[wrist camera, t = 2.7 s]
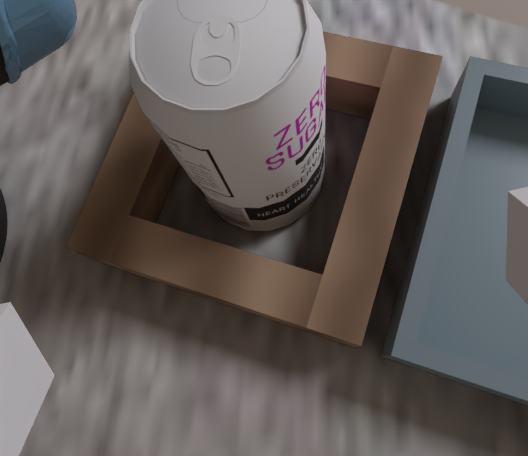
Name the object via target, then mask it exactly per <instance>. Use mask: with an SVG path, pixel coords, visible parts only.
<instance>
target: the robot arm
mask: <svg viewBox="0 0 528 456" xmlns="http://www.w3.org/2000/svg"><path fill="white" fill-rule="evenodd" d="M76 19H77V16H76V5H75V1H74V0H0V86H1V85H3V84H4V83H6V82H8V83H10V84H12V83H15V82H16V81H17V80H18V79H19V78H20V76H21V72H23V71H24V70H26V69H27V68H29V67H30V66H32V65H34V64H35V63H37V62H38V61H40V60H41V59H43V58H44V57H46V56H47V55H49V54H51V53H52V52H54V51H55V50H57V49H58V48H60V47H61V46H63V45H64V44H65V43H66V42H67V41H68V40H69V39H70V37H71V35H72V33H73V30H74V27H75V24H76ZM6 235H7V212H6V205H5V201H4V197H3V194H2V191H1V189H0V261H1V258H2V255H3V251H4V247H5V242H6ZM506 281H507V282H508V283H509V284H510V286H511V287H512V288H513V289H514V290H515V291H516V292H517V293H518V295H519V296H520V297H521V298H522V299H523V300H524V301H525V303H526V304H527V305H528V187H525V188H520V189H516V190H511V191H508V211H507V252H506ZM54 376H55V375H54V374H53V372H52V370H51V369H50V367H49V365H48V364H47V362H46V360H45V359H44V357H43V355H42V354H41V352H40V350H39V349H38V347H37V345H36V344H35V342H34V340H33V339H32V337H31V335H30V334H29V332H28V330H27V329H26V327H25V325H24V324H23V322H22V321H21V319H20V317H19V316H18V314H17V312H16V311H15V309H14V307H13V306H12V304H11V302H7V303H3V304H0V456H19V454H20V452H21V450H22V447H23V445H24V443H25V441H26V438H27V436H28V434H29V432H30V430H31V427H32V425H33V423H34V421H35V418H36V416H37V414H38V412H39V409H40V407H41V405H42V403H43V401H44V398H45V396H46V394H47V392H48V389H49V387H50V385H51V383H52V380H53V378H54Z"/></svg>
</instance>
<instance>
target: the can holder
mask: <svg viewBox="0 0 528 456" xmlns="http://www.w3.org/2000/svg"><path fill="white" fill-rule="evenodd" d="M323 37H324V43H325V50H326V95H325V108H326V109H330V110H334V111H339V112H343V113H347V114H351V115H355V116H360V117H364V118H368V119H371V121H370V124H369V127H368V130H367V133H366V137H365V140H364V143H363V146H362V150H361V153H360V156H359V159H358V163H357V166H356V169H355V172H354V176H353V179H352V182H351V185H350V188H349V192H348V195H347V198H346V201H345V205H344V208H343V211H342V214H341V218H340V221H339V224H338V227H337V231H336V234H335V237H334V240H333V243H332V247H331V250H330V253H329V256H328V260H327V263H326V266H325V269H324V273H323V275H321V274H318V273H315V272H312V271H309V270H305V269H302V268H299V267H296V266H292V265H289V264H286V263H283V262H279V261H276V260H273V259H270V258H266V257H263V256H260V255H257V254H254V253H250V252H247V251H244V250H241V249H237V248H234V247H231V246H228V245H224V244H221V243H218V242H215V241H211V240H208V239H205V238H202V237H199V236H195V235H192V234H189V233H186V232H182V231H179V230H176V229H173V228H169V227H166V226H163V225H160V224H156V222H157V219H158V217H159V214H160V212H161V209H162V207H163V204H164V202H165V199H166V197H167V194H168V192H169V189H170V187H171V184H172V182H173V179H174V177H175V174H176V172H177V169H178V167H179V164H180V163H179V161H178V160H177V158H176V157H175V156H174V154H173V153H172V152H171V150H170V149H169V147H168V146H167V145H166V143H165V142H164V140H163V139H162V138H161V136H160V135H159V133H158V132H157V131H156V129H155V128H154V126H153V125H152V124H151V122H150V121H149V119H148V118H147V117H146V115H145V114H144V112H143V111H142V109H141V107H140V104H139V102H138V100H137V98H136V96H135V93H134V94H133V96H132V98H131V100H130V103H129V105H128V107H127V109H126V112H125V114H124V116H123V118H122V121H121V123H120V125H119V128H118V130H117V132H116V134H115V137H114V139H113V141H112V143H111V146H110V148H109V150H108V152H107V155H106V157H105V159H104V162H103V164H102V166H101V168H100V171H99V173H98V175H97V177H96V180H95V182H94V184H93V186H92V189H91V191H90V193H89V195H88V198H87V200H86V202H85V205H84V207H83V209H82V211H81V214H80V216H79V218H78V220H77V223H76V225H75V227H74V229H73V232H72V234H71V236H70V238H69V241H68V243H67V245H66V248H68V249H70V250H72V251H75V252H77V253H79V254H81V255H84V256H86V257H88V258H90V259H93V260H95V261H97V262H100V263H103V264H106V265H109V266H112V267H115V268H118V269H121V270H124V271H127V272H130V273H133V274H136V275H139V276H142V277H145V278H148V279H151V280H154V281H157V282H160V283H163V284H166V285H169V286H172V287H175V288H178V289H181V290H184V291H187V292H190V293H193V294H196V295H199V296H202V297H205V298H208V299H211V300H214V301H217V302H220V303H223V304H226V305H229V306H232V307H235V308H238V309H241V310H244V311H247V312H250V313H253V314H256V315H258V316H261V317H264V318H267V319H270V320H273V321H276V322H279V323H282V324H285V325H288V326H291V327H294V328H297V329H300V330H303V331H306V332H309V333H312V334H315V335H318V336H321V337H324V338H327V339H330V340H333V341H336V342H339V343H342V344H345V345H348V346H351V347H354V348H358V347H360V346H362V342H363V339H364V335H365V331H366V328H367V324H368V321H369V317H370V314H371V310H372V306H373V303H374V299H375V296H376V292H377V289H378V285H379V281H380V278H381V274H382V271H383V267H384V264H385V260H386V257H387V253H388V249H389V246H390V242H391V239H392V235H393V232H394V228H395V224H396V221H397V217H398V214H399V210H400V207H401V203H402V199H403V196H404V192H405V189H406V185H407V182H408V178H409V174H410V171H411V167H412V164H413V160H414V157H415V153H416V149H417V146H418V142H419V139H420V135H421V132H422V128H423V125H424V121H425V117H426V114H427V110H428V107H429V103H430V100H431V96H432V92H433V89H434V85H435V82H436V78H437V75H438V71H439V67H440V64H441V60H442V57H443V56H439V55H434V54H429V53H424V52H419V51H415V50H410V49H405V48H400V47H395V46H390V45H385V44H381V43H376V42H371V41H366V40H361V39H356V38H351V37H347V36H342V35H337V34H332V33H327V32H323Z"/></svg>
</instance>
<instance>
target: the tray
mask: <svg viewBox="0 0 528 456" xmlns="http://www.w3.org/2000/svg"><path fill="white" fill-rule="evenodd" d="M525 187H528V68H525V67H520V66H515V65H510V64H505V63H500V62H496V61H491V60H486V59H481V58H476V57H471V56H470V58H469V60H468V62H467V64H466V67H465V69H464V71H463V73H462V75H461V77H460V79H459V81H458V83H457V85H456V87H455V89H454V91H453V93H452V96H451V98H450V102H449V105H448V109H447V113H446V117H445V120H444V124H443V128H442V131H441V135H440V139H439V143H438V146H437V150H436V154H435V157H434V161H433V165H432V168H431V172H430V176H429V180H428V183H427V187H426V191H425V194H424V198H423V202H422V206H421V209H420V213H419V217H418V220H417V224H416V228H415V231H414V235H413V239H412V243H411V246H410V250H409V254H408V257H407V261H406V265H405V269H404V272H403V276H402V280H401V283H400V287H399V291H398V294H397V298H396V302H395V306H394V309H393V313H392V317H391V320H390V324H389V328H388V332H387V335H386V339H385V343H384V346H383V350H382V354H381V357H384V358H387V359H390V360H393V361H396V362H399V363H402V364H405V365H408V366H411V367H414V368H417V369H420V370H422V371H425V372H428V373H431V374H434V375H437V376H440V377H443V378H446V379H449V380H452V381H455V382H458V383H461V384H464V385H467V386H470V387H473V388H476V389H479V390H482V391H485V392H488V393H491V394H494V395H497V396H500V397H503V398H506V399H509V400H512V401H515V402H518V403H521V404H524V405H527V406H528V305H527V304H526V303H525V301H524V300H523V299H522V298H521V297H520V296H519V295H518V293H517V292H516V291H515V290H514V289H513V288H512V287H511V286H510V284H509V283H508V282H507V281H506V252H507V211H508V191H511V190H516V189H520V188H525Z"/></svg>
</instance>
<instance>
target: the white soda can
mask: <svg viewBox="0 0 528 456" xmlns="http://www.w3.org/2000/svg"><path fill="white" fill-rule="evenodd" d="M129 55H130V85H131V87H132V89H133V91H134V93H135V96H136V98H137V100H138V102H139V104H140V107H141V109H142V111H143V112H144V114H145V115H146V117H147V118H148V119H149V121H150V122H151V124H152V125H153V126H154V128H155V129H156V131H157V132H158V133H159V135H160V136H161V138H162V139H163V140H164V142H165V143H166V145H167V146H168V147H169V149H170V150H171V152H172V153H173V154H174V156H175V157H176V158H177V160H178V161H179V163H180V164H181V165H182V167H183V168H184V170H185V171H186V172H187V174H188V175H189V177H190V178H191V179H192V181H193V182H194V184H195V185H196V186H197V188H198V189H199V191H200V192H201V193H202V195H203V196H204V198H205V199H206V200H207V202H208V203H209V205H210V206H211V207H212V209H214V210H215V211H216V212H217V213H218V214H219V215H220V216H221V217H222V218H223V219H224V220H225V221H226V222H228V223H230V224H233V225H235V226H238V227H240V228H243V229H245V230H255V231H270V230H274V229H277V228H280V227H284V226H287V225H290V224H291V223H293V222H294V221H295V220H297V219H298V218H300V217H301V216H302V215H304V214H305V213H306V212H308V210H309V209H310V207H311V206H312V204H313V203H314V202H315V200H316V199H317V197H318V196H319V194H320V191H321V186H322V182H323V178H324V174H325V95H326V50H325V43H324V37H323V31H322V24H321V22H320V20H319V19H318V17H317V16H316V14H315V12H314V11H313V9H312V8H311V6H310V5H309V3H308V1H307V0H142V2H141V3H140V4H139V6H138V9H137V12H136V14H135V17H134V20H133V23H132V25H131V28H130V54H129Z"/></svg>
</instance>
